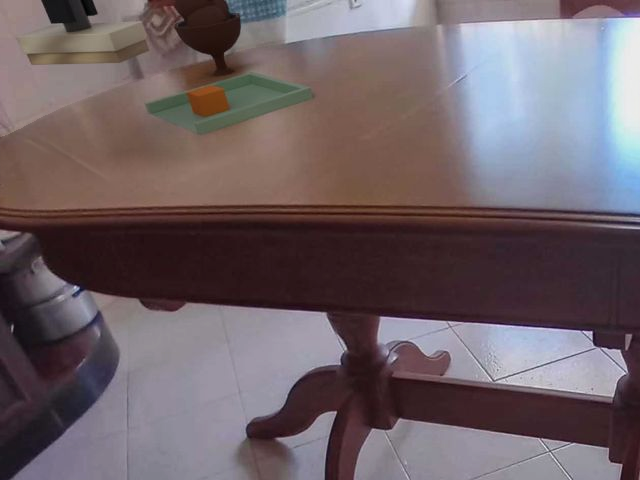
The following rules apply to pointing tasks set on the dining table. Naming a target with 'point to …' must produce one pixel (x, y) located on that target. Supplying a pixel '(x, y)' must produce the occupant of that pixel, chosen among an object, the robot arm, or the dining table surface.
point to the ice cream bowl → (208, 29)
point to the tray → (232, 102)
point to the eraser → (208, 100)
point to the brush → (84, 41)
